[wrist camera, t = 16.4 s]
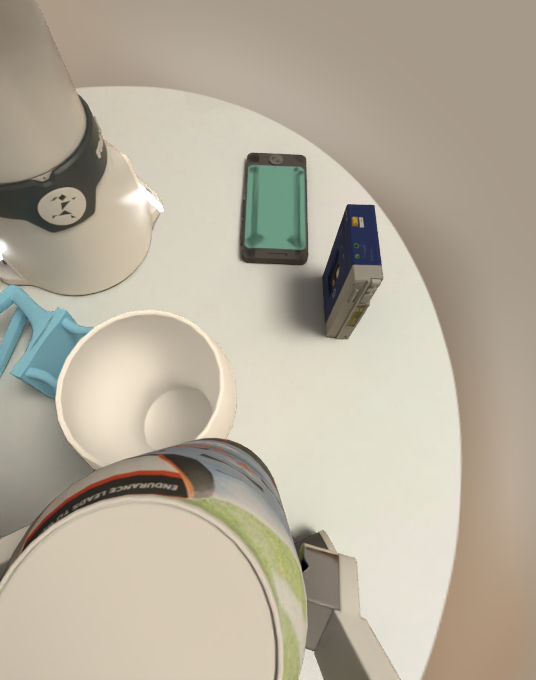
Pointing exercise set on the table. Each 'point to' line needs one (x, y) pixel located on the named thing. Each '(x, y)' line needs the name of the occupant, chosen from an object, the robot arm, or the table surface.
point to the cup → (144, 387)
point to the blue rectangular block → (351, 271)
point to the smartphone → (275, 209)
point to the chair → (38, 340)
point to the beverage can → (158, 575)
